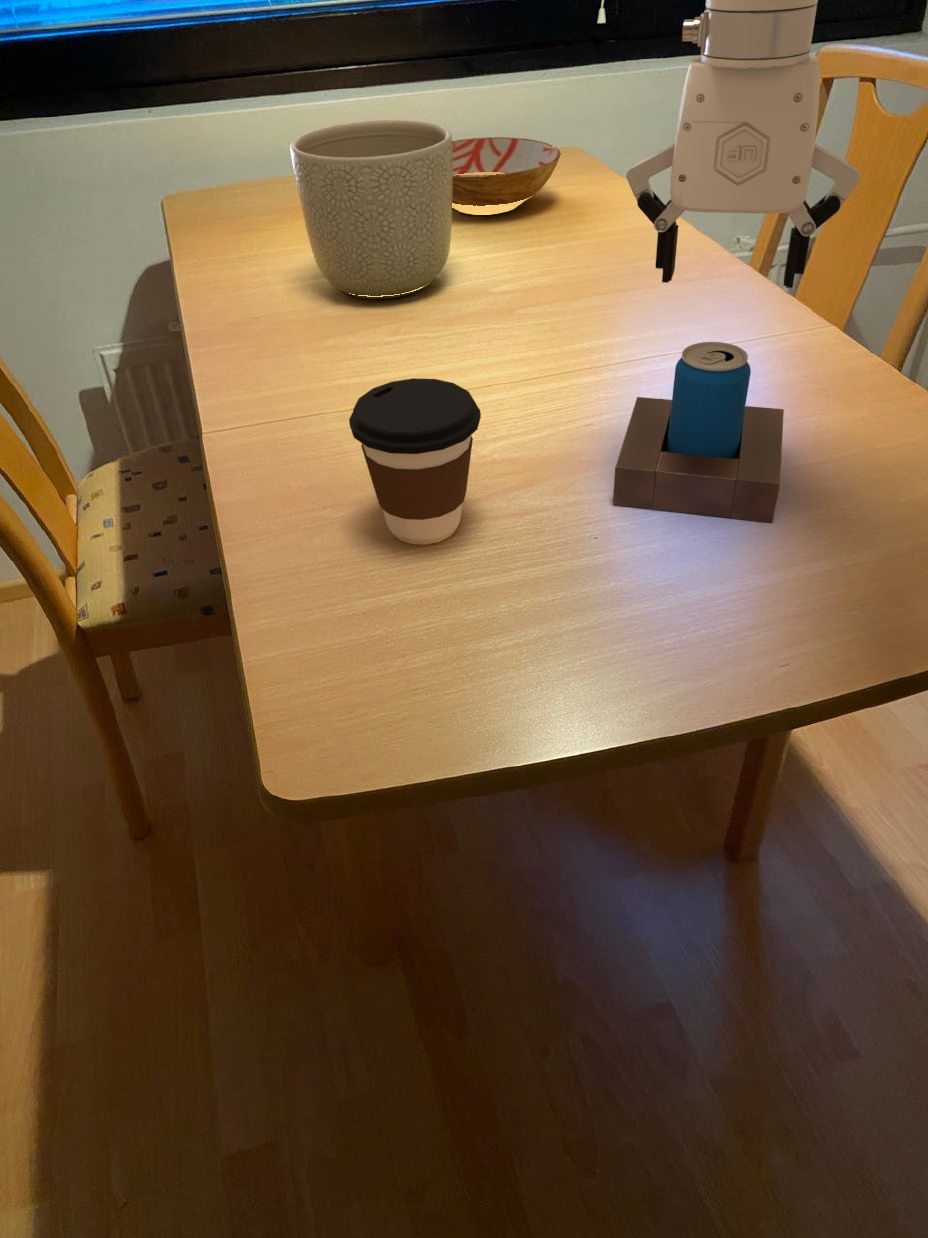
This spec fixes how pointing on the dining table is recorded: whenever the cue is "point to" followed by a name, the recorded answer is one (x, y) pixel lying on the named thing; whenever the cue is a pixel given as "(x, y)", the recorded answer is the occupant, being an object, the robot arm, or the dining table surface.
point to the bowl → (500, 169)
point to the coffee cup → (418, 454)
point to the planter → (377, 203)
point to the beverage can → (709, 400)
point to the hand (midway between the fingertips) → (727, 279)
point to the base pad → (700, 467)
